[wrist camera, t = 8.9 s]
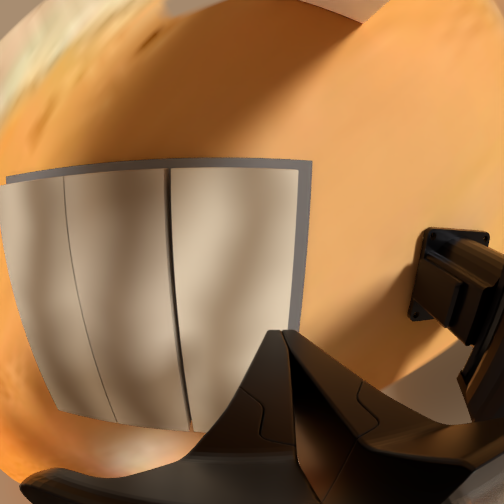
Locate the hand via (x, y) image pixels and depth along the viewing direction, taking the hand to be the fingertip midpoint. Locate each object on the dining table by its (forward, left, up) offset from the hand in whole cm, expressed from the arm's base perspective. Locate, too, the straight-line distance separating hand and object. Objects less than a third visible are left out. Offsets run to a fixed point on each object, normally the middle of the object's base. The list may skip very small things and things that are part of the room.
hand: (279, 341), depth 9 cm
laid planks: (+11, +4, -8) cm, 14 cm away
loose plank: (+1, +4, -8) cm, 9 cm away
